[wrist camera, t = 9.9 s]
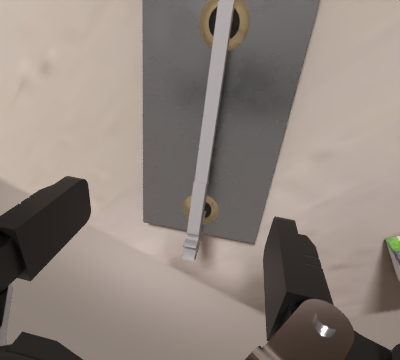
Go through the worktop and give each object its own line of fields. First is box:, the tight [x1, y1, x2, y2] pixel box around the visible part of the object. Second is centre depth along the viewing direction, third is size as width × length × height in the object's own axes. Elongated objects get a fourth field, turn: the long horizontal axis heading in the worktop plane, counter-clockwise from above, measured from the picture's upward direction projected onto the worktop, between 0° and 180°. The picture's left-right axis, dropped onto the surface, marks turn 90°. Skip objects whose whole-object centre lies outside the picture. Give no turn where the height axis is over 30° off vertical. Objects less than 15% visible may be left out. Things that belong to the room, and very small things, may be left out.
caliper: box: [182, 0, 235, 262], centre depth 19 cm, size 20×1×6 cm, turn 174°
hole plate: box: [143, 0, 320, 244], centre depth 22 cm, size 12×22×1 cm, turn 174°
